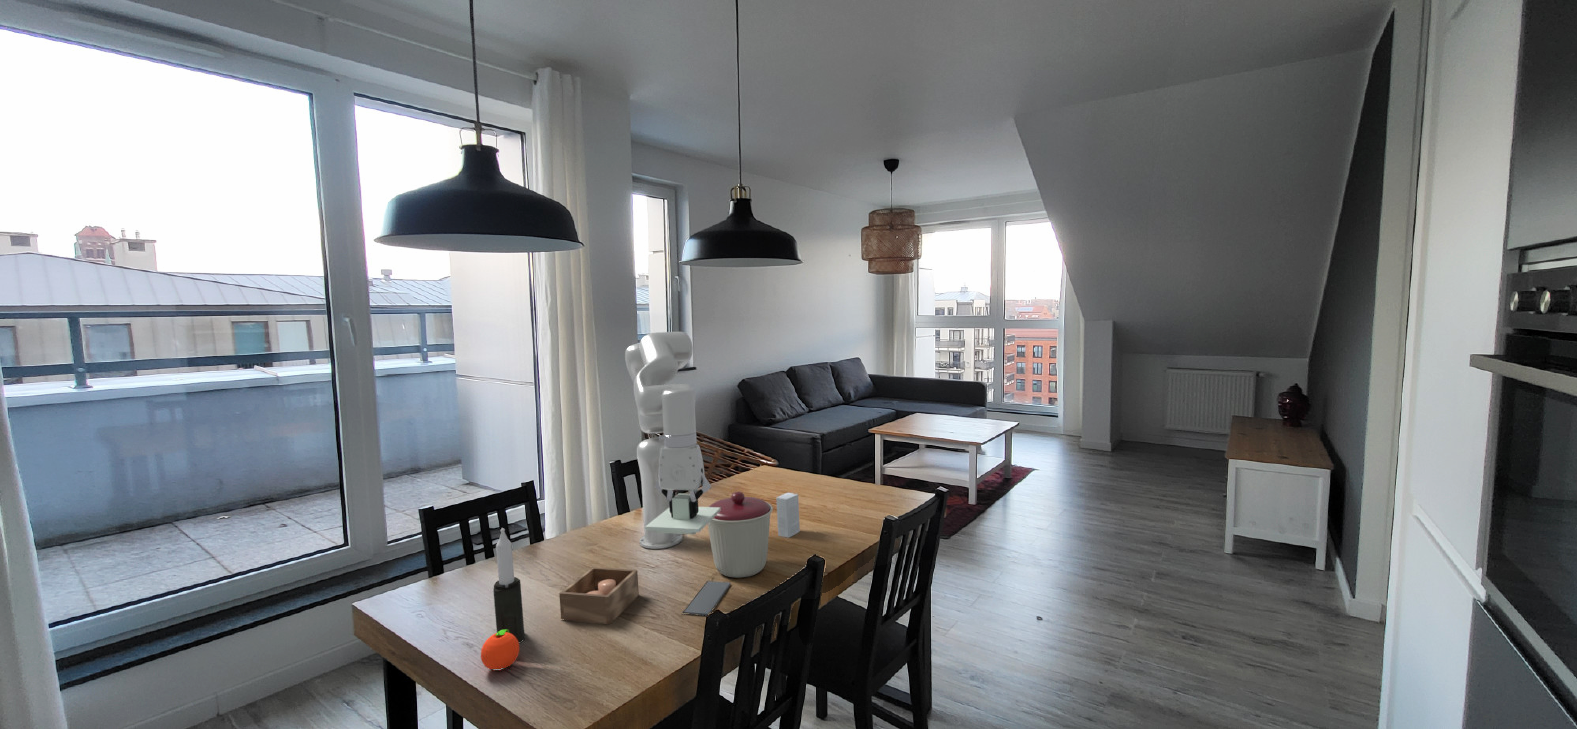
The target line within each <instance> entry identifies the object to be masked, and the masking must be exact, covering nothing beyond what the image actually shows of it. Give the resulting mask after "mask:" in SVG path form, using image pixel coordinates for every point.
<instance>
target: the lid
mask: <svg viewBox="0 0 1577 729" xmlns="http://www.w3.org/2000/svg"><path fill="white" fill-rule="evenodd" d="M690 501H691V498H690V494H689V493H681V492H680V493H678V494H677V493H676V496H675V497H673V498H672V508H673V518H672V517H671V513H670V508H668V509H667V510H665V511H664V512H663V513H662V514H660V515H659V516H658V517H657V518H655V519H654V520H653V521H652V522H650V523H649V524H648V525H647V526H645V530H656V533H675V534H682V535H696V534H697V533H700V532H701V531H702V530H703V529H704V528H705V527H706V526H708V523H709V522H710V521H711V520H712V519H713V518H714V517H715V516H716V515H717V514H718V513H719V512H720V511H721V508H719V507H708V506H698V509H699V511H698V513H697V515H696V516H695V517H694V518H690V510H689V502H690Z"/></svg>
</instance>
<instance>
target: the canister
mask: <svg viewBox="0 0 1577 729" xmlns="http://www.w3.org/2000/svg"><path fill="white" fill-rule="evenodd" d="M707 507H719V508H721V511H720V512H719V513H718V514H717V515H716V516H715V517H714V518H713V519H712V520H711V521H710V522H709V523H708V524H707V527H708V534H709V541H710V546H711V552H712V558H713V563H714V566H715V568H716V570H717V571H718V572H719V574H721V575H723V576H725V577H729V578H734V579H737V578H741V579H742V578H747V577H748V578H749V577H751V576H755V575H757V574H758V573H760V572H761V571H763V569H764V568H765V565H766V563H767V559H768V550H769V539H770V538H769V536H770V523H771V521H770V520H771V514H772V512H773V510H774V508H773V505H771V503H769V502H767V501H765V500H763V499H761V498H758V497H752V496H745V494H744V492H741V491H735V492H733V493H732V494H731V496H730V497H727V498H723V499H719V500H717V501H714V502H713V503H711V504H710V505H708V506H707Z"/></svg>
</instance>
